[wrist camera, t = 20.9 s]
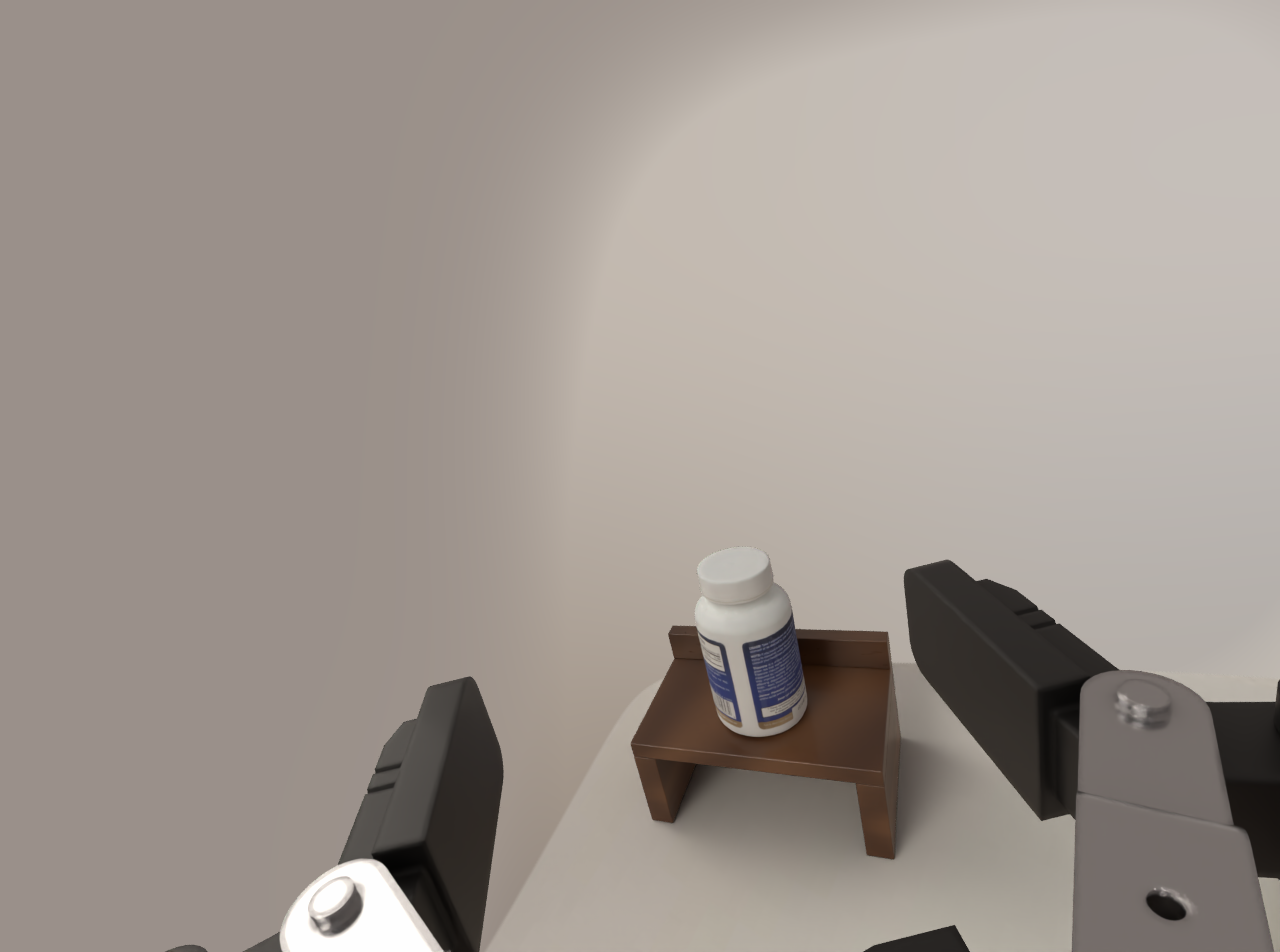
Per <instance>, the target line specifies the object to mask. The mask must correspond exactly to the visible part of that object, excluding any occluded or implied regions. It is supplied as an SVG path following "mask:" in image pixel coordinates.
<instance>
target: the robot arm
mask: <svg viewBox="0 0 1280 952" xmlns="http://www.w3.org/2000/svg"><path fill="white" fill-rule="evenodd" d="M904 588H905V598H906V607H907V617H908V627H909V636H910V644H911V649H912V652H913V655H914V658H915V661H916V663H917V665H918V667H919V669H920V671H921V673H922V674H923V676H924V677H925V678H926V680H927V681H928V682H929V683H930V685H931V686H932V687H933V688H934V689H935V691H936V692H937V693H938V694H939V696H940V697H941V698H942V699H943V701H944V702H945V703H946V704H947V705H948V707H949V708H950V709H951V710H952V712H953V713H954V714H955V715H956V717H957V718H958V719H959V720H960V721H961V723H962V724H963V725H964V726H965V728H966V729H967V730H968V731H969V733H970V734H971V735H972V736H973V737H974V739H975V740H976V741H977V742H978V744H979V745H980V746H981V747H982V748H983V750H984V751H985V752H986V753H987V755H988V756H989V757H990V758H991V760H992V761H993V762H994V763H995V764H996V766H997V767H998V768H999V769H1000V771H1001V772H1002V773H1003V774H1004V776H1005V777H1006V778H1007V779H1008V780H1009V782H1010V783H1011V784H1012V785H1013V787H1014V788H1015V789H1016V790H1017V792H1018V793H1019V794H1020V795H1021V796H1022V798H1023V799H1024V800H1025V801H1026V803H1027V804H1028V805H1029V806H1030V808H1031V809H1032V810H1033V811H1034V812H1035V814H1036V815H1037V816H1038V817H1039V819H1040V820H1041V821H1043V820H1047V819H1051V818H1055V817H1059V816H1063V815H1067V814H1071V816H1072V817H1073V818H1074V819H1075V820H1076V825H1075V860H1074V895H1073V931H1072V952H1274V949H1273V944H1272V940H1271V935H1270V931H1269V926H1268V921H1267V917H1266V912H1265V907H1264V903H1263V898H1262V894H1261V889H1260V884H1259V880H1258V877H1267V878H1278V879H1279V880H1280V680H1279V682H1278V687H1277V696H1276V702H1205V701H1204V700H1203V699H1202V698H1201V697H1200V696H1199V695H1198V694H1196V693H1195V692H1194V691H1193V690H1191V689H1190V688H1188V687H1186V686H1184V685H1183V684H1181V683H1178V682H1176V681H1174V680H1172V679H1169V678H1166V677H1163V676H1160V675H1156V674H1153V673H1148V672H1142V671H1132V670H1119V669H1117V668H1116V667H1115V666H1113V665H1112V664H1111V663H1109V662H1108V661H1107V660H1105V659H1104V658H1103V657H1102V656H1101V655H1099V654H1098V653H1097V652H1095V651H1094V650H1093V649H1091V648H1090V647H1089V646H1088V645H1086V644H1085V643H1084V642H1082V641H1081V640H1080V639H1079V638H1077V637H1076V636H1075V635H1073V634H1072V633H1071V632H1069V631H1068V630H1067V629H1066V628H1064V627H1063V626H1062V625H1060V624H1056V623H1055V620H1054V619H1053V618H1051V617H1050V616H1049V615H1048V614H1046V613H1045V612H1044V611H1042V610H1038V608H1037V606H1036V605H1035V604H1033V603H1032V602H1031V601H1030V600H1028V599H1026V597H1024V596H1023V595H1022V594H1020V593H1019V592H1018V591H1017V590H1014V589H1012V588H1009V587H1007V586H1004V585H1001V584H998V583H996V582H994V581H991V580H988V579H984V580H981V581H975V580H974V579H973V578H971V577H970V576H969V575H968V574H967V573H965V572H964V571H963V570H962V569H961V568H959V567H958V566H957V565H955V563H953V562H952V561H950V560H944V561H939V562H936V563H931V564H927V565H923V566H919V567H916V568H912V569H908V570H906V571H905V574H904ZM375 772H376V773H375V774H373V776H372V778H371V781H370V783H369V786H368V789H367V790H368V794H366V795H365V796H364V799H363V801H362V804H361V807H360V809H359V812H358V814H357V817H356V819H355V822H354V825H353V827H352V830H351V832H350V835H349V837H348V840H347V843H346V845H345V848H344V851H343V853H342V855H341V858H340V861H339V863H338V866H336V867H334V868H332V869H331V870H329V871H327V872H326V873H324V874H323V875H321V876H320V877H319V878H317V879H316V880H315V881H314V882H312V883H311V884H310V885H309V886H308V887H307V888H306V889H305V890H304V891H303V892H302V893H301V894H300V895H299V897H298V898H297V899H296V901H295V902H294V903H293V904H292V906H291V907H290V909H289V911H288V912H287V914H286V916H285V918H284V921H283V923H282V927H281V931H280V932H279V933H277V934H275V935H273V936H272V937H270V938H268V939H266V940H264V941H263V942H260V943H259V944H257V945H255V946H253V947H251V948H249V949H247V950H245V951H243V952H479V950H480V942H481V935H482V928H483V921H484V913H485V907H486V899H487V892H488V885H489V878H490V870H491V864H492V856H493V849H494V842H495V835H496V827H497V821H498V813H499V806H500V799H501V792H502V785H503V761H502V754H501V750H500V746H499V743H498V740H497V737H496V734H495V732H494V729H493V726H492V724H491V721H490V718H489V716H488V713H487V710H486V707H485V705H484V702H483V699H482V696H481V694H480V691H479V688H478V686H477V684H476V682H475V680H474V679H473V678H472V677H465V678H462V679H457V680H453V681H449V682H445V683H441V684H437V685H433V686H430V687H429V688H428V689H427V691H426V694H425V697H424V700H423V703H422V706H421V709H420V712H419V715H418V717H417V719H414V720H410V721H406V722H403V724H402V725H401V726H400V727H399V729H398V730H397V731H396V732H395V733H394V734H393V736H392V737H391V738H390V739H389V741H388V742H387V743H386V744H385V745H384V748H383V750H382V753H381V756H380V758H379V760H378V763H377V766H376V768H375ZM166 952H207V951H206V949H204V948H203V947H201V946H196V945H185V946H180V947H176V948H173V949H171V950H168V951H166ZM864 952H970V951H969V949H968V948H967V946H966V944H965V942H964V941H963V939H962V937H961V935H960V933H959V932H958V930H957V928H956V926H955V925H953V926H949V927H945V928H941V929H937V930H933V931H929V932H925V933H921V934H917V935H913V936H909V937H905V938H901V939H897V940H893V941H890V942H886V943H882V944H878V945H874V946H872V947H870V948H869V949H867V950H865V951H864Z"/></svg>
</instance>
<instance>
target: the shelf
mask: <svg viewBox="0 0 1280 952" xmlns="http://www.w3.org/2000/svg"><path fill="white" fill-rule="evenodd" d="M795 630H796V636H797V642H798V647H799V653H800V659H801V664H802V669H803V675H804V681H805V686H806V693H807V707H806V710H805V712H804V714H803V716H802V718H801V719H800V720H799V722H798V723H797V724H795V725H794V726H793V727H791V728H790V729H788V730H786V731H784V732H782V733H779V734H776V735H772V736H765V737H752V736H745V735H742V734H738V733H736V732H734V731H732V730H730V729H729V728H728V727H726V726H725V725H724V724H723V722H722V721H721V720H720V718H719V716H718V713H717V710H716V706H715V703H714V699H713V694H712V691H711V686H710V682H709V678H708V674H707V669H706V665H705V661H704V657H703V653H702V648H701V644H700V640H699V636H698V631H697V627H696V626H672V628H671V630H670V632H669V633H668V635H669V639H670V643H671V647H672V651H673V655H674V658H675V659H674V661H673V662H672V664H671V666H670V668H669V670H668V672H667V674H666V676H665V678H664V680H663V682H662V684H661V686H660V688H659V690H658V691H657V693H656V695H655V697H654V699H653V701H652V703H651V705H650V707H649V709H648V711H647V713H646V715H645V717H644V718H643V720H642V722H641V724H640V726H639V728H638V730H637V732H636V734H635V736H634V738H633V740H632V742H631V747H632V750H633V754H634V758H635V761H636V765H637V768H638V772H639V775H640V779H641V782H642V785H643V789H644V792H645V796H646V799H647V803H648V806H649V809H650V813H651V816H652V819H653V820H657V821H664V822H670V823H673V822H674V819H675V816H676V814H677V811H678V809H679V806H680V804H681V801H682V798H683V796H684V793H685V791H686V788H687V786H688V783H689V781H690V778H691V775H692V773H693V770H694V768H695V765H696V764H703V765H711V766H720V767H728V768H736V769H744V770H752V771H761V772H769V773H777V774H785V775H794V776H802V777H810V778H818V779H827V780H835V781H843V782H851V783H856V788H857V794H858V801H859V807H860V814H861V820H862V827H863V833H864V840H865V846H866V853H867V855H870V856H876V857H882V858H888V859H894V858H895V838H896V819H897V799H898V779H899V759H900V740H901V735H900V727H899V719H898V711H897V702H896V694H895V686H894V678H893V670H892V662H891V653H890V644H889V637H888V632H874V631H841V630H805V629H795Z"/></svg>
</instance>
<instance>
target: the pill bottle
mask: <svg viewBox="0 0 1280 952" xmlns="http://www.w3.org/2000/svg"><path fill="white" fill-rule="evenodd" d="M697 574H698V579H699V584H700V591H701V592H702V596H701V598H700V599H699V601H698V602H697V605H696V608H695V621H696V627H697V631H698V636H699V640H700V644H701V648H702V653H703V657H704V661H705V665H706V669H707V674H708V678H709V682H710V686H711V691H712V694H713V699H714V703H715V706H716V710H717V713H718V716H719V718H720V720H721V721H722V722H723V724H724V725H725V726H726V727H728V728H729V729H730V730H732V731H734V732H736V733H738V734H742V735H745V736H752V737H765V736H772V735H776V734H779V733H782V732H784V731H786V730H788V729H790V728H791V727H793V726H794V725H795V724H797V723H798V722H799V720H800V719H801V718H802V716H803V714H804V712H805V710H806V707H807V693H806V686H805V681H804V675H803V669H802V664H801V659H800V653H799V647H798V642H797V636H796V630H795V625H794V619H793V613H792V607H791V603H790V599H789V597H788V595H787V593H786V592H785V591H784V589H783V588H782V587H781V586H779V585H778V584H776V583H774V582H773V572H772V568H771V564H770V559H769V556H768V555H767V554H766V553H765V552H764V551H762V550H760V549H758V548H753V547H733V548H727V549H724V550H720V551H717V552H715V553H713V554H711V555H709V556H707V557H706V558H704V559H703V560H702V561H701V562H700V564H699V565H698V568H697Z"/></svg>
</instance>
